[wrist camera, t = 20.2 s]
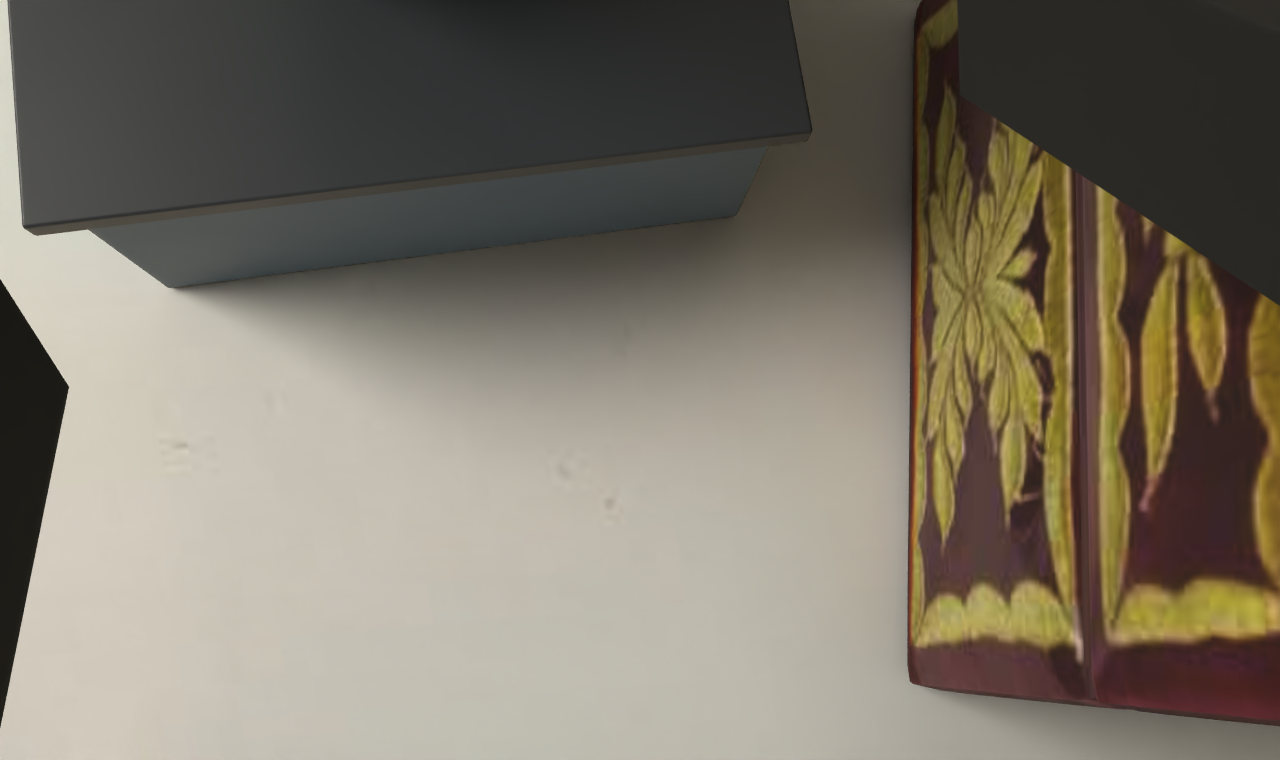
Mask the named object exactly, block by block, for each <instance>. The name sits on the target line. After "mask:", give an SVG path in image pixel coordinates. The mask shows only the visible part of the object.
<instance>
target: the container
mask: <svg viewBox="0 0 1280 760" xmlns="http://www.w3.org/2000/svg"><path fill="white" fill-rule="evenodd" d="M8 15H9V30H10V45H11V60H12V75H13V90H14V105H15V120H16V135H17V150H18V165H19V180H20V195H21V210H22V225H23V227H24V229H26V230H28V231H29V232H31V233H32V234H34V235H37V236H38V235H46V234H55V233H63V232H71V231H79V230H87V229H88V230H90V231H91V232H92V233H94V234H95V235H97V236H98V237H99V238H101V239H102V240H103V241H105V242H106V243H107V244H109V245H110V246H112V247H113V248H114V249H116V250H117V251H118V252H120V253H121V254H123V255H124V256H125V257H127V258H128V259H129V260H131V261H132V262H134V263H135V264H136V265H138V266H139V267H140V268H142V269H143V270H145V271H146V272H147V273H149V274H150V275H151V276H153V277H154V278H156V279H157V280H158V281H160V282H161V283H162V284H164V285H165V286H166V287H169V288H173V287H181V286H189V285H197V284H204V283H212V282H220V281H228V280H236V279H244V278H251V277H259V276H267V275H275V274H283V273H291V272H299V271H306V270H314V269H322V268H330V267H338V266H346V265H354V264H361V263H369V262H377V261H385V260H393V259H401V258H409V257H416V256H424V255H432V254H440V253H448V252H456V251H464V250H471V249H479V248H487V247H495V246H503V245H511V244H518V243H526V242H534V241H542V240H550V239H558V238H566V237H573V236H581V235H589V234H597V233H605V232H613V231H621V230H628V229H636V228H644V227H652V226H660V225H668V224H676V223H683V222H691V221H699V220H707V219H715V218H723V217H731V216H735V215H736V214H737V212H738V210H739V208H740V206H741V204H742V201H743V199H744V197H745V195H746V193H747V191H748V189H749V186H750V184H751V182H752V180H753V178H754V176H755V174H756V172H757V169H758V167H759V165H760V163H761V161H762V159H763V157H764V155H765V152H766V150H767V148H768V146H775V145H783V144H791V143H800V142H806V141H807V140H808V138H809V137H810V135H811V133H812V125H811V120H810V114H809V109H808V103H807V98H806V93H805V87H804V82H803V76H802V71H801V66H800V60H799V55H798V49H797V44H796V39H795V33H794V28H793V23H792V17H791V12H790V6H789V1H788V0H8Z"/></svg>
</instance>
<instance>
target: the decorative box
mask: <svg viewBox="0 0 1280 760" xmlns="http://www.w3.org/2000/svg"><path fill="white" fill-rule="evenodd" d="M908 671H909V678H910V682H912V683H913V684H916V685H920V686H925V687H930V688H934V689H939V690H944V691H951V692H958V693H966V694H975V695H985V696H995V697H1004V698H1014V699H1024V700H1033V701H1043V702H1053V703H1062V704H1072V705H1082V706H1092V707H1103V708H1113V709H1130V710H1137V711H1142V712H1151V713H1159V714H1167V715H1177V716H1186V717H1196V718H1206V719H1215V720H1225V721H1235V722H1244V723H1254V724H1264V725H1273V726H1280V306H1279V305H1277V304H1276V303H1274V302H1273V301H1271V300H1270V299H1268V298H1267V297H1265V296H1264V295H1262V294H1261V293H1259V292H1258V291H1256V290H1255V289H1253V288H1252V287H1250V286H1249V285H1247V284H1246V283H1244V282H1243V281H1241V280H1240V279H1238V278H1237V277H1235V276H1233V275H1232V274H1230V273H1229V272H1227V271H1226V270H1224V269H1223V268H1221V267H1220V266H1218V265H1217V264H1215V263H1214V262H1212V261H1211V260H1209V259H1208V258H1206V257H1205V256H1203V255H1202V254H1200V253H1199V252H1197V251H1196V250H1194V249H1193V248H1191V247H1190V246H1188V245H1187V244H1185V243H1183V242H1182V241H1180V240H1179V239H1177V238H1176V237H1174V236H1173V235H1171V234H1170V233H1168V232H1167V231H1165V230H1164V229H1162V228H1161V227H1159V226H1158V225H1156V224H1155V223H1153V222H1152V221H1150V220H1149V219H1147V218H1146V217H1144V216H1143V215H1141V214H1140V213H1138V212H1137V211H1135V210H1133V209H1132V208H1130V207H1129V206H1127V205H1126V204H1124V203H1123V202H1121V201H1120V200H1118V199H1117V198H1115V197H1114V196H1112V195H1111V194H1109V193H1108V192H1106V191H1105V190H1103V189H1102V188H1100V187H1099V186H1097V185H1096V184H1094V183H1093V182H1091V181H1090V180H1088V179H1087V178H1085V177H1083V176H1082V175H1080V174H1079V173H1077V172H1076V171H1074V170H1073V169H1071V168H1070V167H1068V166H1067V165H1065V164H1064V163H1062V162H1061V161H1059V160H1058V159H1056V158H1055V157H1053V156H1052V155H1050V154H1049V153H1047V152H1046V151H1044V150H1043V149H1041V148H1040V147H1038V146H1036V145H1035V144H1033V143H1032V142H1030V141H1029V140H1027V139H1026V138H1024V137H1023V136H1021V135H1020V134H1018V133H1017V132H1015V131H1014V130H1012V129H1011V128H1009V127H1008V126H1006V125H1005V124H1003V123H1002V122H1000V121H999V120H997V119H996V118H994V117H993V116H991V115H990V114H988V113H986V112H985V111H983V110H982V109H980V108H979V107H977V106H976V105H974V104H973V103H971V102H970V101H968V100H967V99H965V98H964V97H962V96H961V95H960V85H959V48H958V12H957V0H922V1H921V2H920V4H919V7H918V9H917V13H916V19H915V24H914V72H913V160H912V251H911V342H910V433H909V525H908Z"/></svg>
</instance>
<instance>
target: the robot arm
mask: <svg viewBox="0 0 1280 760" xmlns="http://www.w3.org/2000/svg"><path fill="white" fill-rule="evenodd" d="M957 12H958V48H959V85H960V95H961V96H962V97H964V98H965V99H967V100H968V101H970V102H971V103H973V104H974V105H976V106H977V107H979V108H980V109H982V110H983V111H985V112H986V113H988V114H990V115H991V116H993V117H994V118H996V119H997V120H999V121H1000V122H1002V123H1003V124H1005V125H1006V126H1008V127H1009V128H1011V129H1012V130H1014V131H1015V132H1017V133H1018V134H1020V135H1021V136H1023V137H1024V138H1026V139H1027V140H1029V141H1030V142H1032V143H1033V144H1035V145H1036V146H1038V147H1040V148H1041V149H1043V150H1044V151H1046V152H1047V153H1049V154H1050V155H1052V156H1053V157H1055V158H1056V159H1058V160H1059V161H1061V162H1062V163H1064V164H1065V165H1067V166H1068V167H1070V168H1071V169H1073V170H1074V171H1076V172H1077V173H1079V174H1080V175H1082V176H1083V177H1085V178H1087V179H1088V180H1090V181H1091V182H1093V183H1094V184H1096V185H1097V186H1099V187H1100V188H1102V189H1103V190H1105V191H1106V192H1108V193H1109V194H1111V195H1112V196H1114V197H1115V198H1117V199H1118V200H1120V201H1121V202H1123V203H1124V204H1126V205H1127V206H1129V207H1130V208H1132V209H1133V210H1135V211H1137V212H1138V213H1140V214H1141V215H1143V216H1144V217H1146V218H1147V219H1149V220H1150V221H1152V222H1153V223H1155V224H1156V225H1158V226H1159V227H1161V228H1162V229H1164V230H1165V231H1167V232H1168V233H1170V234H1171V235H1173V236H1174V237H1176V238H1177V239H1179V240H1180V241H1182V242H1183V243H1185V244H1187V245H1188V246H1190V247H1191V248H1193V249H1194V250H1196V251H1197V252H1199V253H1200V254H1202V255H1203V256H1205V257H1206V258H1208V259H1209V260H1211V261H1212V262H1214V263H1215V264H1217V265H1218V266H1220V267H1221V268H1223V269H1224V270H1226V271H1227V272H1229V273H1230V274H1232V275H1233V276H1235V277H1237V278H1238V279H1240V280H1241V281H1243V282H1244V283H1246V284H1247V285H1249V286H1250V287H1252V288H1253V289H1255V290H1256V291H1258V292H1259V293H1261V294H1262V295H1264V296H1265V297H1267V298H1268V299H1270V300H1271V301H1273V302H1274V303H1276V304H1277V305H1279V306H1280V0H957ZM68 389H69V386H68V385H67V383H66V381H65V380H64V378H63V377H62V375H61V374H60V372H59V371H58V369H57V367H56V366H55V364H54V363H53V361H52V360H51V358H50V356H49V355H48V353H47V352H46V350H45V349H44V347H43V345H42V344H41V342H40V341H39V339H38V338H37V336H36V334H35V333H34V331H33V330H32V328H31V327H30V325H29V324H28V322H27V320H26V319H25V317H24V316H23V314H22V313H21V311H20V309H19V308H18V306H17V305H16V303H15V302H14V300H13V298H12V297H11V295H10V294H9V292H8V291H7V289H6V287H5V286H4V284H3V283H2V281H1V280H0V726H1V721H2V716H3V711H4V706H5V702H6V697H7V692H8V687H9V682H10V677H11V672H12V667H13V662H14V657H15V652H16V647H17V642H18V637H19V632H20V627H21V622H22V617H23V612H24V607H25V602H26V597H27V592H28V587H29V582H30V577H31V573H32V568H33V563H34V558H35V553H36V548H37V543H38V538H39V533H40V528H41V523H42V518H43V513H44V508H45V503H46V498H47V493H48V488H49V483H50V478H51V473H52V468H53V463H54V458H55V453H56V448H57V443H58V439H59V434H60V429H61V424H62V419H63V414H64V409H65V404H66V399H67V394H68Z"/></svg>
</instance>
